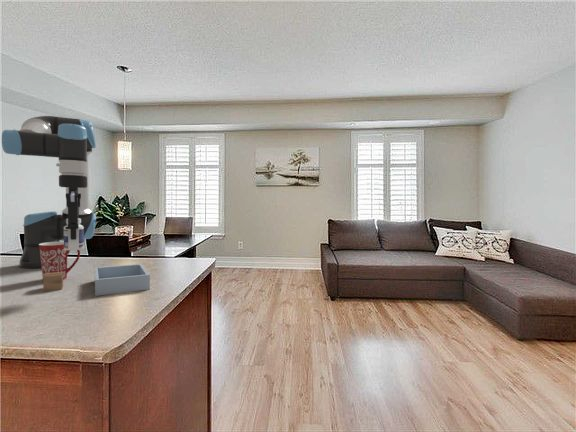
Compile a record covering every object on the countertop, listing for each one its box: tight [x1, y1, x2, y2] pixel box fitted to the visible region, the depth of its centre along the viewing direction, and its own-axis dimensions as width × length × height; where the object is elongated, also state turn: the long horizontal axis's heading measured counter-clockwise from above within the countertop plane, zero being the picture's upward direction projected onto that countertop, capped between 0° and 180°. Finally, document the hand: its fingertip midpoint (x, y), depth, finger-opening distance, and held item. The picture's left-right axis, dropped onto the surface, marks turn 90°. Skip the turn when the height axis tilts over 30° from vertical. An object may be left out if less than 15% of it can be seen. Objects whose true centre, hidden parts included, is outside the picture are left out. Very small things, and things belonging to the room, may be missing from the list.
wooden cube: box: [42, 272, 64, 292], centre depth 112 cm, size 5×5×5 cm
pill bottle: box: [63, 218, 85, 251], centre depth 106 cm, size 5×5×10 cm
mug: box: [39, 241, 81, 281], centre depth 124 cm, size 13×9×14 cm
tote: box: [94, 263, 151, 296], centre depth 118 cm, size 20×16×5 cm
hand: (74, 248), depth 106 cm, fingers closed on pill bottle, 5 cm apart
